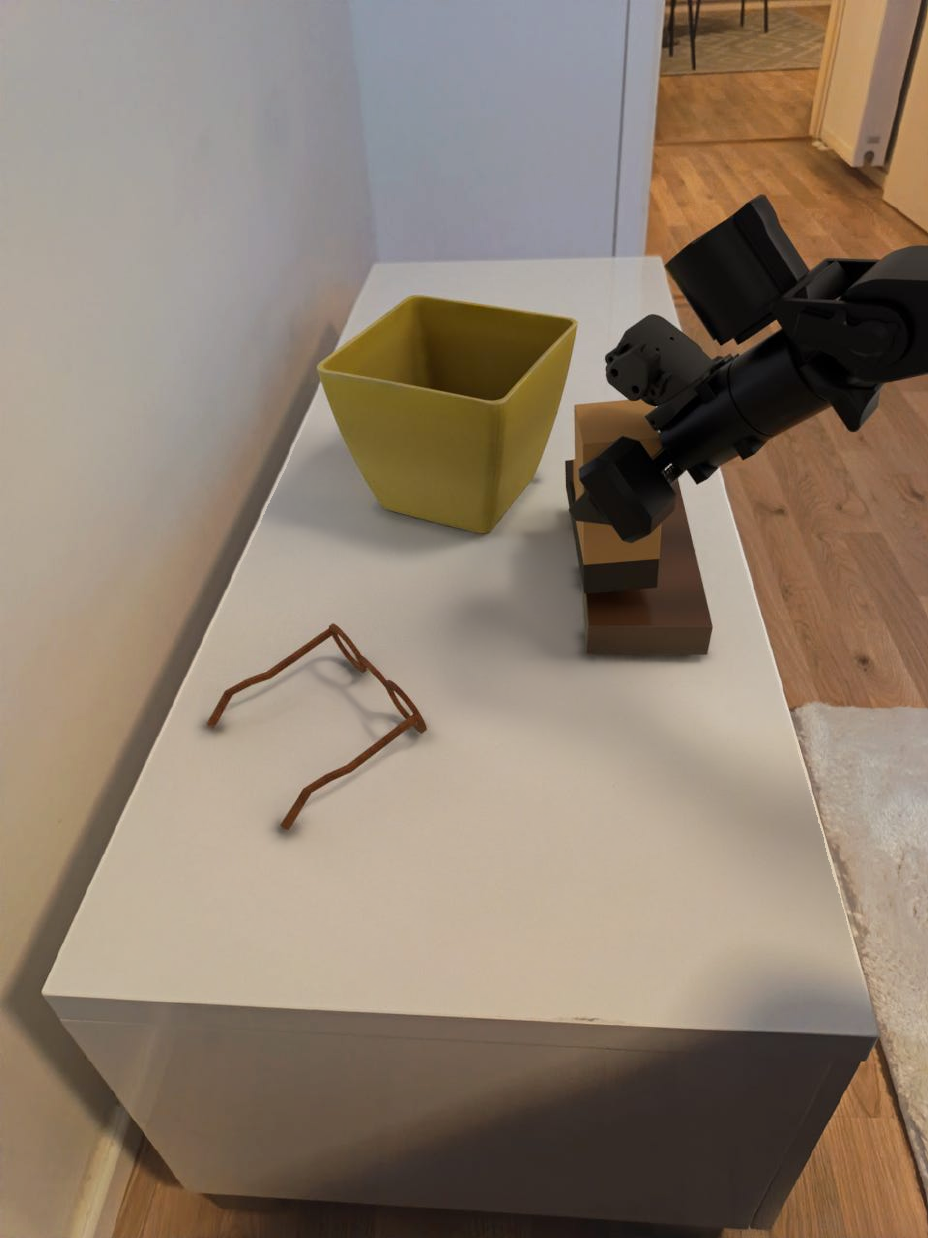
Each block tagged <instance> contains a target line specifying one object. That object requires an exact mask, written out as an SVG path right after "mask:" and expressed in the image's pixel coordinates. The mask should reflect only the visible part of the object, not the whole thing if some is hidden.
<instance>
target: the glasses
mask: <svg viewBox="0 0 928 1238" xmlns="http://www.w3.org/2000/svg"><path fill="white" fill-rule="evenodd" d="M331 637H332V639H333V641H334V642H335V644H336V646H337V647H338V649H339V650H340V651H341V653H342V655H344V657H345V658H346V659H347V661H348V662H349V663H350V664H351V665H352V666H353V667H354V669H356V670H357V671H358V672H359V673H361V674H364V673H366V672H367V671H369V672H370V673H371V674H372V675H373V676H374V677H375V678H376V679H377V680H378V681H379V682H380V683H381V684H382V685H383V687H384V688H385V690H386V692H387V694H388V696H389V698H390V699H391V701H392V703H393V704H394V706H395V708H396V709H397V710H398V712H399V713H400V714H401V716H402V717H403V718H404V721H402V722H400V723H399V724H398V725H397V726H395V727H394V728H393V729H392V730H390V731H389V732H387V733H386V734H385V735H383V736H382V737H381V738H380V739H378V740H377V741H376V742H374V743H373V744H372V745H371V746H369V747H368V748H367V749H365V750H363V752H361V753H360V754H359V755H357V756H356V757H355V758H354V759H352V760H351V761H349V762H348V763H347V764H345V765H343V766H341V767H339V768H336V769H335V770H332V771H329V772H328V773H325V774H324V775H322V776H321V777H319V778H317V779H316V780H314V781H312V782H311V783H309V784H308V785H306V786H305V787H303V788H302V789H301V792H300V793H299V795H298V796H297V798H296V799H295V801H294V803H293V804H292V806H291V808H290V809H289V811H288V812H287V813H286V816H285V817H284V819H283V820H282V822H281V824H280V825H279V826H280V828H281V829H283V830H287V831H289V830H290V828H291V827H292V826H293V824H294V822H295V820H296V819H297V817H298V816H299V814H300V812H301V811H302V809H303V808H304V807H305V805H306V803H307V801H308V800H309V798H310V797H311V795H312V794H313V793H314V792H316V791H317V790H319V789H321V788H322V787H324V786H326V785H328V784H330V783H331V782H333V781H335V780H337V779H340V778H342V777H344V776H346V775H348V774H351V773H352V772H354V771H355V770H356V769H358V767H361V766H362V765H363V764H364V763H365V762H367V761H368V760H369V759H371V758H372V757H373V756H374V755H376V754H377V753H378V752H380V751H381V750H382V749H384V748H385V747H387V746H388V745H389V744H390V743H391V742H394V740H395V739H397V738H398V737H399V736H400V735H402V734H403V733H404V732H406V731H407V730H408V729H409V728H411V727H412V728H413V729H414V730H416V731H417V732H418V733H420V734H424V733H425V732H426V731H427V729H428V728H427V724H426V722H425V720H424V717H423V716H422V714H421V712H420V711H419V709H418V708H417V706H416V705H415V703H414V702H413V700H412V699H411V698H410V697H409V696H408V695H407V693H406V692H405V691H404V690H403V689H402V688H401V687H400V686H399V685H398V684H397V683H395V682H394V681H393V680H392V679H387V678H386V677H385V676H384V675H383V674H382V673H381V671H379V669H378V668H377V667H375V666H374V665H373V663H371V661H369V659H367V658H366V657H365V656H363V655H362V653H361V651H360V650H359V649H358V648H357V646H356V645H355V644H354V642H353V640H352V639H350V637H349V636H348V635H347V634H346V632H344V630H343V629H342V628H340V626H339V625H337V624H336V623H334V622H331V623H330V624H329V625H328V628H326V629H325V630H324V631H322V632H321V633H319V634H318V635H317V636H315V637H313V638H312V639H311V640H310V641H309V642H306V643H305V644H304V645H302V646H301V647H300V648H298V649H296V650H295V651H293V652H292V653H291V654H289V655H288V656H287V657H285V658H284V659H283V660H281V661H280V662H278V663H277V664H275V665H274V666H273V667H271V668H269V669H268V670H266V671H265V672H262V673H258V674H256V675H253V676H251V677H248V678H245V679H244V680H242V681H240V682H238V683H236V684H235V685H233V686H230V687H229V688H227V689H225V690H224V691H223V693H222V695H221V697H220V700H219V701H218V702H217V704H216V706H215V708H214V709H213V711H212V713H211V715H210V716H209V718H208V720H207V722H206V726H207V727H211V728H215V727H216V725H218V722H219V720H220V718H221V717H222V715H223V713H224V712H225V710H226V708H227V706H228V704H229V703H230V701H231V700H232V697H233V696H234V695H236V694H237V693H239V692H242V691H244V690H245V689H248V688H249V687H252V686H253V685H254V686H255V685H256V684H259V683H262V682H265V681H268V680H271V679H272V678H274V677H275V676H277V675H278V674H279V673H281V672H283V671H284V670H285V669H287V668H288V667H290V666H291V665H292V664H294V663H295V662H296V661H299V660H300V659H302V657H304V656H305V655H307V654H309V653H310V652H311V651H312V650H313V649H315V648H317V647H318V646H320V645H321V644H322V643H324V642H326V641H327V640H328V639H329V638H331ZM340 638H341V639H342V640H343V641H344V643H345V644H346V645H347V646H348V648H349V649H350V651H351V653H353V655H354V657H355V658H354V657H353V656H352V654H351V653H350V651H348V649H347V647H346V646H345V645H344V643H343V642H342V640H341V639H340ZM398 696H399V697H400V698H401V700H402V701H403V702H404V703H405V705H406V706H407V707H408V708H409V710H410V712H411V713H412V714H409V712H408V711H407V710H406V709H405V707H404V706H403V705H402V703H401V702H400V699H398Z"/></svg>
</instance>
